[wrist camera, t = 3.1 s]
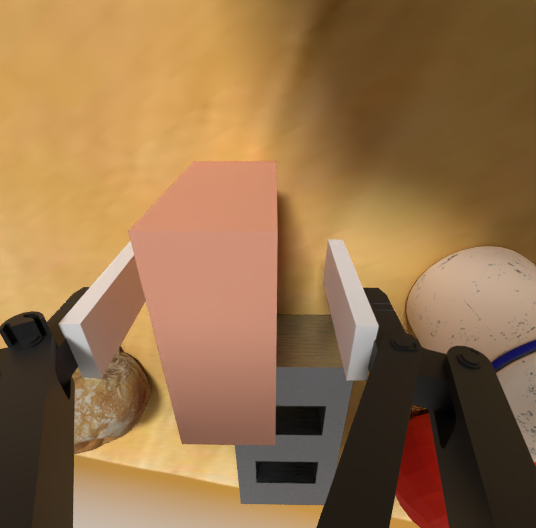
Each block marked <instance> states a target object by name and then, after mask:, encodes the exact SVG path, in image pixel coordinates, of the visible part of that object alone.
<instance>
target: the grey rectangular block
mask: <svg viewBox="0 0 536 528" xmlns="http://www.w3.org/2000/svg"><path fill="white" fill-rule="evenodd" d="M352 385H353V380H346V376H345V372H344V368H343V364H342V359H341V355H340V351H339V347H338V342H337V338H336V334H335V330H334V326H333V321H332V317H331V315H277V337H276V434H275V445H235V450H236V460H237V470H238V479H239V489H240V498H241V504H286V505H287V504H288V505H325V502H326V499H327V496H328V493H329V490H330V487H331V484H332V481H333V479H334V476H335V472H336V467H337V462H338V457H339V452H340V447H341V442H342V437H343V431H344V426H345V421H346V416H347V411H348V406H349V401H350V396H351V391H352Z"/></svg>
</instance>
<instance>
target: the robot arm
mask: <svg viewBox="0 0 536 528" xmlns="http://www.w3.org/2000/svg"><path fill="white" fill-rule="evenodd" d="M324 287H325V292H326V296H327V300H328V304H329V309H330V313H331V317H332V321H333V326H334V330H335V334H336V338H337V342H338V347H339V351H340V355H341V359H342V364H343V368H344V372H345V376H346V380H363V381H366V380H367V376H368V371H369V373H370V374H369V377H368V380H367V383H366V386H365V389H364V392H363V395H362V398H361V400H360V403H359V406H358V409H357V412H356V415H355V418H354V421H353V424H352V426H351V429H350V432H349V435H348V438H347V441H346V444H345V447H344V450H343V453H342V455H341V458H340V461H339V464H338V467H337V470H336V473H335V476H334V479H333V481H332V484H331V487H330V490H329V493H328V496H327V499H326V502H325V505H324V508H323V510H322V513H321V516H320V519H319V522H318V525H317V528H389V525H390V520H391V515H392V509H393V504H394V499H395V493H396V488H397V482H398V477H399V472H400V466H401V461H402V456H403V450H404V445H405V439H406V434H407V429H408V423H409V418H410V412H411V407H412V405H416V406H419V407H422V408H426V409H428V410H429V416H430V422H431V427H432V433H433V439H434V444H435V450H436V456H437V461H438V467H439V473H440V478H441V484H442V490H443V495H444V501H445V506H446V512H447V518H448V523H449V528H536V466H535V464H534V461H533V459H532V457H531V454H530V452H529V449H528V447H527V445H526V442H525V440H524V438H523V435H522V433H521V431H520V428H519V426H518V424H517V421H516V419H515V417H514V414H513V412H512V410H511V407H510V405H509V402H508V400H507V398H506V395H505V393H504V391H503V388H502V386H501V384H500V381H499V379H498V377H497V374H496V372H495V370H494V367H493V365H492V363H491V362H490V360H489V359H488V358H487V357H486V356H485V355H484V354H482V353H481V352H479V351H477V350H475V349H473V348H470V347H467V346H454V347H451V348H450V349H449V350H448V351H447V354H445V353H440V352H436V351H432V350H429V349H425V348H423V347H421V344H420V343H419V342H418V340H417V339H415V338H414V337H413V336H411V335H409V334H407V333H406V332H405V331H404V329H403V327H402V325H401V323H400V321H399V319H398V317H397V315H396V313H395V311H394V309H393V307H392V305H391V304H390V301H389V299H388V297H387V295H386V294H385V293H384V292H382V291H381V290H380V289H379V288H363V287H362V285H361V282H360V280H359V277H358V275H357V273H356V270H355V268H354V265H353V263H352V261H351V258H350V256H349V253H348V251H347V249H346V246H345V244H344V241H343V240H328V244H327V254H326V264H325V274H324ZM145 301H146V300H145V296H144V292H143V288H142V284H141V280H140V276H139V272H138V268H137V264H136V260H135V256H134V252H133V248H132V244H131V241H130V242H129V243H128V244H127V245H126V247H125V248H124V249H123V250H122V251H121V252H120V253H119V255H118V256H117V257H116V258H115V259H114V260H113V261H112V263H111V264H110V265H109V266H108V267H107V268H106V270H105V271H104V272H103V273H102V274H101V275H100V276H99V278H98V279H97V280H96V281H95V282H94V283H93V284H92V286H91V287H83V288H82V289H80V290H79V291H77V292H75V293H74V294H72V296H71V297H70V298H69V299H68V300H67V301H66V303H64V304H63V305H62V306H61V308H60V310H58V311H57V312H56V313H55V314H54V315H53V316H52V317H51V318H50V319H49V321H48V322H46V320H45V318H44V316H43V314H42V313H40V312H33V311H32V312H26V313H22V314H19V315H16V316H14V317H12V318H10V319H8V320H7V321H5V322H4V323H3V324H2V325H1V326H0V334H1V336H2V337H3V339H4V341H5V343H6V344H7V346H8V348H3V349H0V528H73V481H74V479H73V478H74V477H73V476H74V416H75V382H74V379H73V377H72V375H73V374H74V372H75V371H76V369H77V368H78V369H79V371H80V373H81V376H82V378H102V377H103V375H104V373H105V371H106V370H107V368H108V366H109V364H110V363H111V361H112V359H113V357H114V356H115V354H116V352H117V350H118V349H119V347H120V345H121V343H122V342H123V340H124V338H125V336H126V335H127V333H128V331H129V329H130V328H131V326H132V324H133V322H134V321H135V319H136V317H137V315H138V313H139V312H140V310H141V308H142V306H143V305H144V303H145Z"/></svg>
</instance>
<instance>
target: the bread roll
mask: <svg viewBox="0 0 536 528" xmlns="http://www.w3.org/2000/svg"><path fill="white" fill-rule="evenodd" d="M72 377H73V379H74V382H75V416H74V454H78V453H81V452H86V451H90V450H93V449H96V448H98V447H100V446H102V445H103V444H106V443H109V442H110V441H112V440H115V439H118V438H120V437H122V436H124V435H125V434H127V433H128V432H129V431H130V430H132V428H133V426H134V425H136V424H137V423H138V421H139V419H140V417H141V415H142V413H143V411H144V409H145V407H146V405H147V404H148V400H149V396H150V389H151V388H150V386H149V382H148V380H147V376H146V375H145V374H144V372H143V371H142V369H141V368H140V366H139V365H138V364H137V362H136V361H135V360H134V359H133V358H132V357H131V356H130V355H128V354H127V353H124V352H123V351H121V350H120V348H119V349H118V350H117V352H116V354H115V356H114V357H113V359H112V361H111V363H110V364H109V366H108V368H107V370H106V371H105V373H104V375H103V377H102V378H82V376H81V373H80V371H79V369H78V368H77V369H76V371H75V372H74V374H73V375H72Z"/></svg>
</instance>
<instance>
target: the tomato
mask: <svg viewBox="0 0 536 528" xmlns="http://www.w3.org/2000/svg"><path fill="white" fill-rule="evenodd" d="M534 464H535V466H536V462H534ZM395 495H396V497H397V499H398V501H399V503H400V505H401V507H402V508H403V509H404V511H405V512H406V513H407V515H408V516H409V517H410V518H411V520H412V521H413V522H414V523H416V524H417V525H418V526H419V527H420V528H449V523H448V518H447V512H446V506H445V501H444V495H443V490H442V484H441V478H440V473H439V467H438V461H437V456H436V450H435V444H434V439H433V433H432V427H431V422H430V416H429V413H427V414H423V415H419V416H415V417H414V418H412V419H411V420H409V423H408V429H407V434H406V439H405V445H404V450H403V456H402V461H401V466H400V472H399V477H398V482H397V488H396V493H395Z"/></svg>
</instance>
